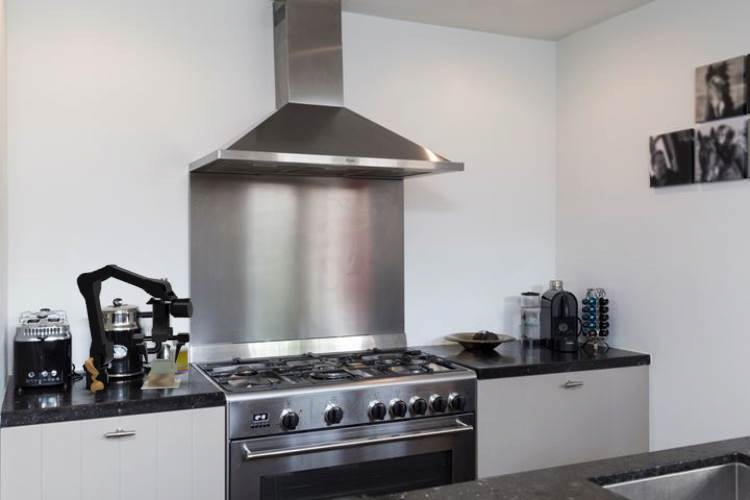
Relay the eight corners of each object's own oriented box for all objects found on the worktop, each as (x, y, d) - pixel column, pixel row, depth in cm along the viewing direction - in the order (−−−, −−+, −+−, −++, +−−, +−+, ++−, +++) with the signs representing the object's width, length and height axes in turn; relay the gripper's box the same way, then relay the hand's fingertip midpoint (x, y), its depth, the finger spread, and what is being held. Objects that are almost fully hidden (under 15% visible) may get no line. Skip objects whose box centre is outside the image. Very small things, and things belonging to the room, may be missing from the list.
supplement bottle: (191, 372, 274) (191, 338, 273) (182, 375, 267) (182, 341, 267) (175, 371, 275) (175, 337, 275) (166, 374, 269) (166, 340, 268)
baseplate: (140, 393, 237) (140, 389, 237) (145, 384, 250) (145, 380, 250) (178, 392, 239) (178, 387, 239) (181, 383, 253) (181, 379, 253)
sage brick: (151, 374, 241) (151, 362, 241) (153, 370, 247) (153, 359, 247) (169, 373, 242) (169, 361, 242) (171, 370, 248) (171, 358, 248)
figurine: (108, 394, 236) (108, 357, 235) (90, 397, 232) (89, 360, 231) (98, 390, 242) (97, 354, 242) (80, 393, 238) (79, 356, 237)
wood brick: (148, 386, 240) (148, 375, 240) (150, 382, 248) (150, 370, 248) (172, 386, 242) (172, 374, 242) (174, 381, 250) (174, 369, 249)
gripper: (129, 321, 234) (129, 368, 235) (188, 320, 238) (188, 366, 239) (133, 317, 245) (133, 362, 246) (190, 316, 249) (190, 361, 249)
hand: (161, 363), depth 245 cm, fingers open, 9 cm apart
